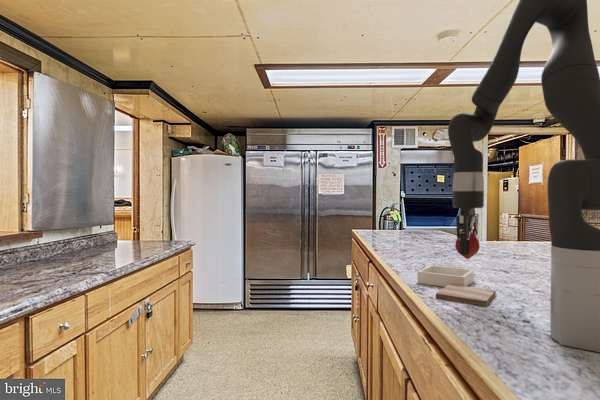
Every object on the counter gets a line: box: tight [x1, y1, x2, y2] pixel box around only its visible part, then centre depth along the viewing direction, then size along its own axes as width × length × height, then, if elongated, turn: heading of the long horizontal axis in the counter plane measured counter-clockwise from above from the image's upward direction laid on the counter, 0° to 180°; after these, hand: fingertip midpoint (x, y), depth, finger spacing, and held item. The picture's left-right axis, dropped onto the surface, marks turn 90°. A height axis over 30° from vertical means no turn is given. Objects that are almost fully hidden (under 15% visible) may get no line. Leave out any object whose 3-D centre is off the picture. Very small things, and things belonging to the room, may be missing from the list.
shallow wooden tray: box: [416, 264, 475, 288], centre depth 116 cm, size 13×13×4 cm
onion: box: [454, 232, 480, 260], centre depth 99 cm, size 6×6×8 cm
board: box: [435, 284, 497, 307], centre depth 99 cm, size 13×12×1 cm
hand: (467, 253), depth 99 cm, fingers closed on onion, 6 cm apart
